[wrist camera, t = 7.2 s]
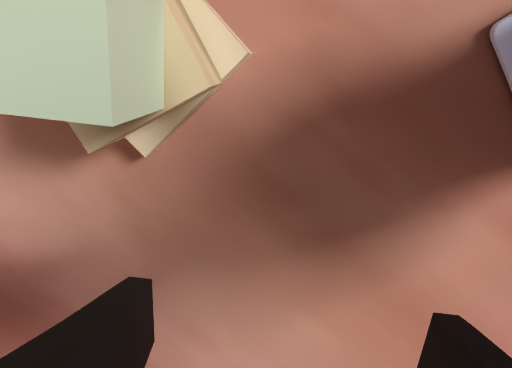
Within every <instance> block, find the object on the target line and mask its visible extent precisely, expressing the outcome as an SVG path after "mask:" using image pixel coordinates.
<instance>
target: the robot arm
mask: <svg viewBox="0 0 512 368" xmlns="http://www.w3.org/2000/svg"><path fill="white" fill-rule="evenodd" d="M489 35H490V39H491V42H492V44H493V47H494V49H495V52H496V54H497V57H498V59H499V62H500V64H501V66H502V69H503V71H504V74H505V76H506V79H507V81H508V84H509V86H510V89H511V91H512V13H511V14H509V15H508V16H506V17H504V18H503V19H501V20H499V21H498V22H496V23H495V24H494V25H493V26H492V28H491V30H490V34H489ZM153 343H154V319H153V296H152V279H145V278H136V277H128V278H127V279H125V280H123V281H122V282H120V283H119V284H117V285H116V286H114V287H113V288H111V289H110V290H108V291H107V292H105V293H104V294H102V295H101V296H99V297H98V298H96V299H95V300H93V301H92V302H90V303H89V304H87V305H86V306H84V307H83V308H81V309H80V310H78V311H77V312H75V313H74V314H72V315H71V316H69V317H68V318H66V319H64V320H63V321H61V322H60V323H58V324H57V325H55V326H54V327H52V328H50V329H49V330H47V331H45V332H44V333H42V334H40V335H39V336H37V337H36V338H34V339H32V340H31V341H29V342H27V343H26V344H24V345H22V346H21V347H19V348H17V349H16V350H14V351H12V352H11V353H9V354H8V355H6V356H4V357H2V358H1V359H0V368H144V367H145V365H146V362H147V360H148V357H149V354H150V351H151V349H152V346H153ZM417 368H512V358H511V357H509V356H508V355H507V354H506V353H505V352H503V351H502V350H501V349H500V348H499V347H498V346H496V345H495V344H494V343H493V342H492V341H490V340H489V339H488V338H487V337H485V336H484V335H483V334H482V333H481V332H479V331H478V330H477V329H476V328H475V327H473V326H472V325H471V324H469V323H468V322H467V321H466V320H464V319H463V318H462V317H460V316H459V315H450V314H442V313H433V315H432V319H431V322H430V326H429V329H428V332H427V336H426V339H425V343H424V346H423V349H422V353H421V356H420V359H419V363H418V366H417Z"/></svg>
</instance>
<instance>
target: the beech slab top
mask: <svg viewBox="0 0 512 368" xmlns="http://www.w3.org/2000/svg"><path fill="white" fill-rule="evenodd" d="M222 83H223V81H222V79H221V77H220V75H219V73H218V71H217V70H216V68H215V66H214V64H213V62H212V60H211V58H210V56H209V54H208V52H207V50H206V48H205V46H204V45H203V43H202V41H201V39H200V37H199V35H198V33H197V31H196V29H195V27H194V25H193V23H192V21H191V20H190V18H189V16H188V14H187V12H186V10H185V8H184V6H183V4H182V2H181V0H164V109H161V110H159V111H156V112H153V113H150V114H147V115H144V116H142V117H139V118H136V119H133V120H130V121H127V122H125V123H122V124H119V125H116V126H113V127H111V126H102V125H93V124H85V123H76V122H68V124H69V125H70V127H71V128H72V130H73V131H74V133H75V134H76V136H77V137H78V139H79V140H80V142H81V144H82V145H83V147H84V148H85V150H86V151H87V153H88V154H90V153H92V152H94V151H97V150H99V149H101V148H103V147H106V146H108V145H110V144H112V143H115V142H117V141H119V140H121V139H122V138H124V137H126V136H128V135H130V134H131V133H133V132H135V131H137V130H139V129H140V128H142V127H144V126H146V125H148V124H150V123H151V122H153V121H155V120H157V119H159V118H160V117H162V116H164V115H166V114H168V113H170V112H171V111H173V110H175V109H177V108H179V107H180V106H182V105H184V104H186V103H188V102H190V101H191V100H193V99H195V98H197V97H199V96H200V95H202V94H204V93H206V92H208V91H209V90H211V89H213V88H215V87H217V86H219V85H220V84H222Z"/></svg>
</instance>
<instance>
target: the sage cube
mask: <svg viewBox="0 0 512 368" xmlns="http://www.w3.org/2000/svg"><path fill="white" fill-rule="evenodd" d="M161 109H164V0H0V114H7V115H16V116H24V117H33V118H42V119H50V120H59V121H67V122H76V123H85V124H93V125H102V126H111V127H113V126H116V125H119V124H122V123H125V122H127V121H130V120H133V119H136V118H139V117H142V116H144V115H147V114H150V113H153V112H156V111H159V110H161Z"/></svg>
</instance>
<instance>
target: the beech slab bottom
mask: <svg viewBox="0 0 512 368" xmlns="http://www.w3.org/2000/svg"><path fill="white" fill-rule="evenodd" d="M181 2H182V4H183V6H184V8H185V10H186V12H187V14H188V16H189V18H190V20H191V21H192V23H193V25H194V27H195V29H196V31H197V33H198V35H199V37H200V39H201V41H202V43H203V45H204V46H205V48H206V50H207V52H208V54H209V56H210V58H211V60H212V62H213V64H214V66H215V68H216V70H217V71H218V73H219V75H220V77H221V79H222V81H223V83H222V84H220V85H219V86H217V87H215V88H213V89H211V90H209V91H208V92H206V93H204V94H202V95H200V96H199V97H197V98H195V99H193V100H191V101H190V102H188V103H186V104H184V105H182V106H180V107H179V108H177V109H175V110H173V111H171V112H170V113H168V114H166V115H164V116H162V117H160V118H159V119H157V120H155V121H153V122H151V123H150V124H148V125H146V126H144V127H142V128H140V129H139V130H137V131H135V132H133V133H131V134H130V135H128V136H126V137H125V138H126V139H127V140H128V141H129V142H130V143H131V144H132V145H133V146H134V147H135V148H136V149H137V150H138V151H139V152H140V153H141V154H142V155H143V156H144V157H147V156H148V155H150V154H151V153H153V152H155V151H156V150H158V149H159V148H160V147H161V146H162V145H163V144H164V143H165V142H166V141H167V140H168V139H169V138H170V137H171V136H172V135H173V134H174V133H175V132H176V131H177V130H178V129H179V128H180V127H181V126H182V125H183V124H184V123H185V122H186V121H187V120H188V119H189V118H190V117H191V116H192V115H193V114H194V113H195V112H196V111H197V110H198V109H199V108H200V107H201V106H202V105H203V104H204V103H205V102H206V101H207V100H208V99H209V98H210V97H211V96H212V95H213V94H214V93H215V92H216V91H217V90H218V89H219V88H220V87H221V86H222V85H223V84H224V83H225V82H226V81H227V80H228V79H229V78H230V77H231V76H232V75H233V74H234V73H235V72H236V71H237V70H238V69H239V68H240V67H241V66H242V65H243V63H244V62H245V61H246V60H247V59H248V58H249V57H250V56H251V55H252V53H251V51H250V50H249V49H248V48H247V47H246V46H245V45H244V43H243V42H242V41H241V40H240V39H239V38H238V37H237V35H236V34H235V33H234V32H233V31H232V30H231V29H230V27H229V26H228V25H227V24H226V23H225V22H224V21H223V19H222V18H221V17H220V16H219V15H218V14H217V13H216V11H215V10H214V9H213V8H212V7H211V6H210V5H209V3H208V2H207V1H206V0H181Z"/></svg>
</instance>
